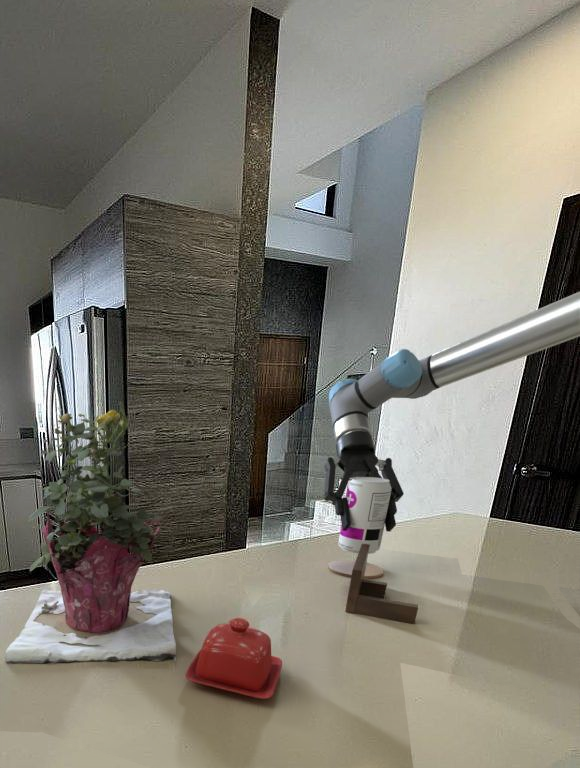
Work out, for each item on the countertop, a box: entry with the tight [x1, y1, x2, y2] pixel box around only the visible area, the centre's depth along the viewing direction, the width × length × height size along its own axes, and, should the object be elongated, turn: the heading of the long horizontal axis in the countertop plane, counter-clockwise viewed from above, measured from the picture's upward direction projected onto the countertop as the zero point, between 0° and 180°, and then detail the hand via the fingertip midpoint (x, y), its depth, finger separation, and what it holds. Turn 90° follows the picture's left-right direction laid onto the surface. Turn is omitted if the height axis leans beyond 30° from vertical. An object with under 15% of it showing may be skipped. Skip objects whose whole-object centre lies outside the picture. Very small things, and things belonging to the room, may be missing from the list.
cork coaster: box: [327, 559, 384, 580], centre depth 105 cm, size 11×11×1 cm
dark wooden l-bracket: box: [344, 544, 419, 625], centre depth 88 cm, size 11×18×8 cm, turn 151°
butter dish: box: [184, 617, 283, 700], centre depth 64 cm, size 12×12×8 cm
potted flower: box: [4, 401, 177, 664], centre depth 74 cm, size 27×25×35 cm
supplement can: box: [337, 476, 392, 555], centre depth 101 cm, size 8×8×15 cm
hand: (368, 527), depth 99 cm, fingers closed on supplement can, 8 cm apart
